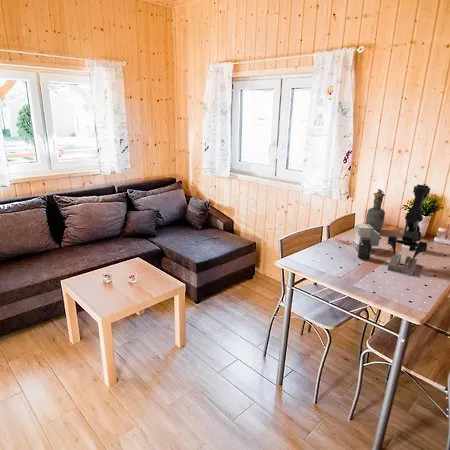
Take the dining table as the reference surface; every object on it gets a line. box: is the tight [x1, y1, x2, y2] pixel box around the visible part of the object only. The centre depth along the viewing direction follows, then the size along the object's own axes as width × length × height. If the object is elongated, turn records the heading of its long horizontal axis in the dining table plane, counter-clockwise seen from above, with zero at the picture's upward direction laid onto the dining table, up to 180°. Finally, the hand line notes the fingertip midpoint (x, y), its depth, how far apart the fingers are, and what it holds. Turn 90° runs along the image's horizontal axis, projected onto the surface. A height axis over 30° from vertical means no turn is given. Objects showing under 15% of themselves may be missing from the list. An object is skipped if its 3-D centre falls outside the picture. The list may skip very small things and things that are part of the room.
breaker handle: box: [400, 244, 410, 265], centre depth 184 cm, size 3×4×10 cm
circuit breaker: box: [351, 223, 382, 252], centre depth 209 cm, size 8×14×15 cm, turn 89°
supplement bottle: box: [357, 237, 373, 261], centre depth 197 cm, size 7×7×12 cm
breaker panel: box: [387, 254, 418, 277], centre depth 188 cm, size 17×12×5 cm
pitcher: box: [364, 188, 386, 233], centre depth 239 cm, size 11×19×30 cm, turn 150°
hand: (403, 257), depth 183 cm, fingers open, 9 cm apart
